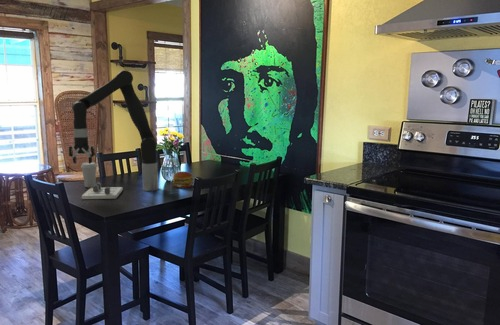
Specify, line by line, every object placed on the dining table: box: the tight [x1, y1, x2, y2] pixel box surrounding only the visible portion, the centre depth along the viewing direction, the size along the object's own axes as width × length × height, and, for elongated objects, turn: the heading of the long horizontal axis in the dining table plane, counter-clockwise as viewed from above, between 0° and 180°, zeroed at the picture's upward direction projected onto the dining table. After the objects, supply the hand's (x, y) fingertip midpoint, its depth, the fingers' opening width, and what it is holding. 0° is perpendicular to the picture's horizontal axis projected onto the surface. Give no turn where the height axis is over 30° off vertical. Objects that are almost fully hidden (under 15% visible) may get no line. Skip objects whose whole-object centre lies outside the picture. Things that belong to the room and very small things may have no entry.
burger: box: [172, 171, 194, 189], centre depth 270 cm, size 14×14×10 cm
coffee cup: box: [80, 161, 98, 188], centre depth 269 cm, size 10×10×15 cm
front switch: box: [105, 186, 110, 194], centre depth 243 cm, size 2×3×4 cm
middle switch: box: [92, 184, 99, 191], centre depth 248 cm, size 2×3×4 cm
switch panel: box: [81, 186, 123, 200], centre depth 249 cm, size 19×20×2 cm
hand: (82, 163), depth 245 cm, fingers open, 8 cm apart
